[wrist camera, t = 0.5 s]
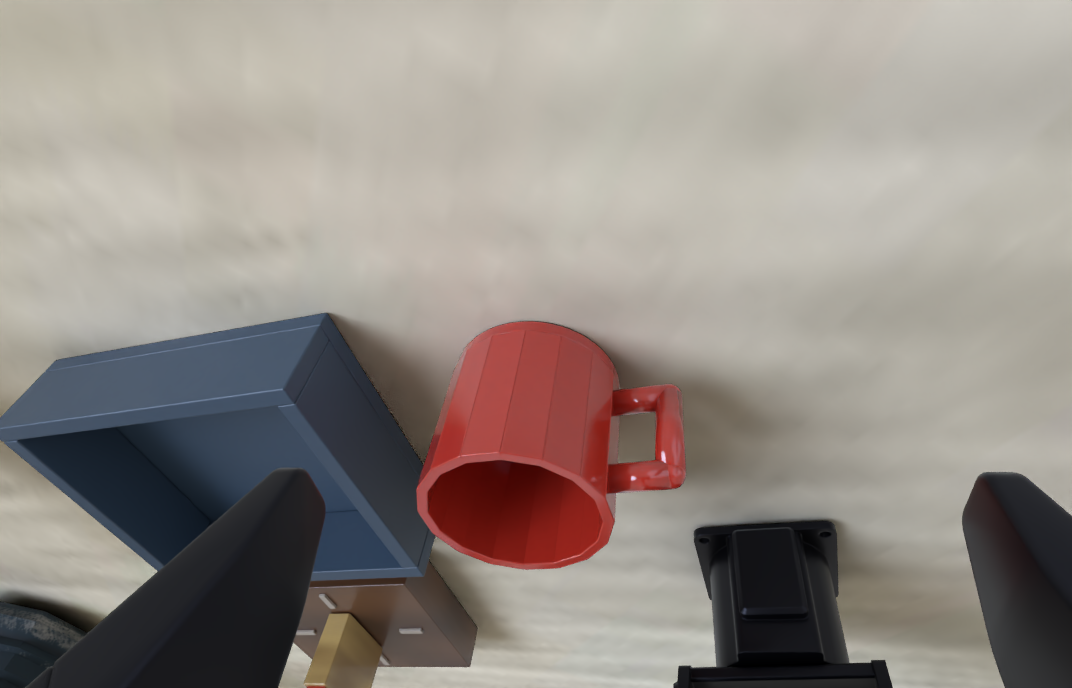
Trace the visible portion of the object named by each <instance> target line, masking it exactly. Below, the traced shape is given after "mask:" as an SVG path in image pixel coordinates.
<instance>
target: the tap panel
mask: <svg viewBox="0 0 1072 688" xmlns="http://www.w3.org/2000/svg"><path fill="white" fill-rule="evenodd" d="M340 613H350V614H351V615H352V616H353V617H354V618H355V619H356V621H357V622H358V623H359V624H360V625H361V626H362V627H363V628H364V629H365V630H366V631H367V632H368V633H369V634H370V635H371V636H372V638H373V639H374V640H375V641H376V642H377V643H378V644H379V645H380V646H381V647H382V648H383V650H382V653H381V657H380V660H379V663H378V667H470V665H471V660H472V655H473V650H474V645H475V640H476V635H477V630H478V628H477V627H476V625H475V624H474V623H473V621H472V620H471V619H470V617H469V616H468V614H467V613H466V612H465V610H464V609H463V607H462V606H461V605H460V603H459V602H458V601H457V599H456V598H455V596H454V595H453V594H452V592H451V591H450V589H449V588H448V587H447V585H446V584H445V583H444V581H443V580H442V578H441V577H440V576H439V574H438V573H437V571H436V570H435V569H434V567H433V566H432V565H431V563H430V562H429V560H428V564H427V568H426V571H425V575H424V576H423V577H398V578H373V579H349V580H324V581H310V586H309V590H308V594H307V599H306V602H305V606H304V610H303V614H302V617H301V620H300V623H299V627H298V630H297V633H296V636H295V639H294V641H293V642H294V643H295V644H296V645H297V646H298V647H299V648H300V649H301V650H302V651H304V652H305V653H306V654H307V655H308V656H309V657H310V658H311V659H312V660H313V657H314V654H315V652H316V649H317V646H318V644H319V641H320V638H321V635H322V633H323V630H324V627H325V625H326V622H327V619H328V617H329V614H340Z"/></svg>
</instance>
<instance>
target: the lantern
mask: <svg viewBox="0 0 1072 688" xmlns="http://www.w3.org/2000/svg"><path fill="white" fill-rule="evenodd" d="M86 634H87V633H86V632H84V631H82V630H81V629H79V628H77V627H75V626H73V625H71V624H69V623H67V622H65V621H63V620H61V619H59V618H57V617H55V616H53V615H51V614H49V613H47V612H46V611H41V610H36V609H32V608H27V607H23V606H18V605H14V604H9V603H5V602H0V688H25V687H26V686H28V685H29V684H30V683H31V682H32V681H33V680H34V679H36V678H37V677H38V676H39V675H40V674H41V673H42V672H44V671H45V670H46V669H47V668H48V667H51V666H54V663H55V662H56V660H58V659H59V658H60V657H61V656H62V655H63V654H64V653H66V652H67V651H68V650H69V649H70V648H71V647H72V646H74V645H75V644H76V643H77V642H78V641H79V640H80V639H82V638H83V637H84V636H85V635H86Z"/></svg>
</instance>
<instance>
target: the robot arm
mask: <svg viewBox="0 0 1072 688" xmlns="http://www.w3.org/2000/svg"><path fill="white" fill-rule="evenodd" d="M325 512H326V508H325V502H324V499H323V497H322V496H321V494H320V492H319V491H318V489H317V487H316V485H315V484H314V482H313V480H312V479H311V477H310V475H309V473H308V472H307V471H306V470H304V469H303V468H278V469H276V470H274V471H272V472H271V473H270V474H269V475H268V476H266V477H265V478H264V479H263V480H262V481H261V482H260V483H258V484H257V485H256V486H255V487H254V488H253V489H252V490H250V491H249V492H248V493H247V494H246V495H245V496H244V497H242V498H241V499H240V500H239V501H238V502H237V503H236V504H234V505H233V506H232V507H231V508H230V509H229V510H228V511H226V512H225V513H224V514H223V515H222V516H221V517H220V518H218V519H217V520H216V521H215V522H214V523H213V524H212V525H211V526H209V527H208V528H207V529H206V530H205V531H204V532H203V533H201V534H200V535H199V536H198V537H197V538H196V539H195V540H193V541H192V542H191V543H190V544H189V545H188V546H187V547H185V548H184V549H183V550H182V551H181V552H180V553H179V554H177V555H176V556H175V557H174V558H173V559H172V560H171V561H169V562H168V563H167V564H166V565H165V566H164V567H163V568H161V569H160V570H159V571H158V572H157V573H156V574H155V575H153V576H152V577H151V578H150V579H149V580H148V581H147V582H145V583H144V584H143V585H142V586H141V587H140V588H139V589H137V590H136V591H135V592H134V593H133V594H132V595H131V596H129V597H128V598H127V599H126V600H125V601H124V602H123V603H121V604H120V605H119V606H118V607H117V608H116V609H115V610H113V611H112V612H111V613H110V614H109V615H108V616H107V617H106V618H104V619H103V620H102V621H101V622H100V623H99V624H98V625H96V626H95V627H94V628H93V629H92V630H91V631H90V632H88V633H87V634H86V635H85V636H84V637H83V638H82V639H80V640H79V641H78V642H77V643H76V644H75V645H74V646H72V647H71V648H70V649H69V650H68V651H67V652H66V653H64V654H63V655H62V656H61V657H60V658H59V659H58V660H56V662H55V663H54V666H51V667H48V668H47V669H46V670H45V671H44V672H42V673H41V674H40V675H39V676H38V677H37V678H36V679H34V680H33V681H32V682H31V683H30V684H29V685H28V686H26V687H25V688H278V686H279V683H280V680H281V677H282V674H283V671H284V668H285V665H286V662H287V659H288V656H289V653H290V650H291V647H292V644H293V641H294V639H295V636H296V633H297V630H298V627H299V623H300V620H301V617H302V614H303V610H304V606H305V602H306V599H307V594H308V590H309V586H310V581H311V577H312V572H313V568H314V563H315V559H316V555H317V550H318V546H319V541H320V537H321V533H322V528H323V524H324V519H325ZM962 525H963V532H964V536H965V540H966V544H967V549H968V553H969V557H970V561H971V566H972V570H973V574H974V578H975V583H976V587H977V591H978V595H979V599H980V604H981V608H982V612H983V616H984V621H985V625H986V629H987V633H988V637H989V640H990V644H991V648H992V652H993V655H994V658H995V661H996V664H997V667H998V670H999V672H1000V675H1001V678H1002V681H1003V683H1004V686H1005V688H1072V516H1071V515H1070V514H1069V513H1068V512H1066V511H1065V510H1064V509H1063V508H1062V507H1061V506H1059V505H1058V504H1057V503H1056V502H1055V501H1054V500H1052V499H1051V498H1050V497H1049V496H1048V495H1046V494H1045V493H1044V492H1043V491H1042V490H1041V489H1039V488H1038V487H1037V486H1036V485H1035V484H1034V483H1032V482H1031V481H1030V480H1029V479H1028V478H1026V477H1025V476H1023V475H1021V474H1019V473H1014V472H985V473H982V474H981V475H979V476H978V478H977V480H976V482H975V484H974V487H973V489H972V491H971V494H970V496H969V499H968V501H967V504H966V506H965V508H964V511H963V516H962ZM694 543H695V546H696V550H697V554H698V558H699V562H700V565H701V569H702V573H703V577H704V581H705V584H706V588H707V592H708V596H709V598H710V600H712V610H713V624H714V639H715V653H716V667H699V668H692V667H691V666H679V668H678V682H676V683H674V688H893V687H892V683H891V680H890V676H889V673H888V669H887V666H886V662H885V660H871V663H849V658H848V653H847V649H846V644H845V639H844V635H843V630H842V625H841V621H840V616H839V611H838V606H837V602H836V597H837V596H838V561H837V533H836V529H835V525H834V524H833V523H832V522H829V521H814V522H796V523H778V524H761V525H743V526H725V527H707V528H699V529H696V530H695V531H694Z"/></svg>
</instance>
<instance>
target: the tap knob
mask: <svg viewBox="0 0 1072 688" xmlns="http://www.w3.org/2000/svg"><path fill="white" fill-rule="evenodd" d="M382 650H383V648H382V647H381V646H380V645H379V644H378V643H377V642H376V641H375V640H374V639H373V638H372V636H371V635H370V634H369V633H368V632H367V631H366V630H365V629H364V628H363V627H362V626H361V625H360V624H359V623H358V622H357V621H356V619H355V618H354V617H353V616H352V615H351V614H350V613H340V614H329V617H328V619H327V622H326V625H325V627H324V630H323V633H322V635H321V638H320V641H319V644H318V646H317V649H316V652H315V654H314V657H313V660H312V662H311V665H310V668H309V670H308V673H307V676H306V679H305V681H304V685H305V686H306V687H307V688H371V687H372V683H373V680H374V677H375V673H376V670H377V667H378V663H379V660H380V657H381V653H382Z"/></svg>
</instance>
